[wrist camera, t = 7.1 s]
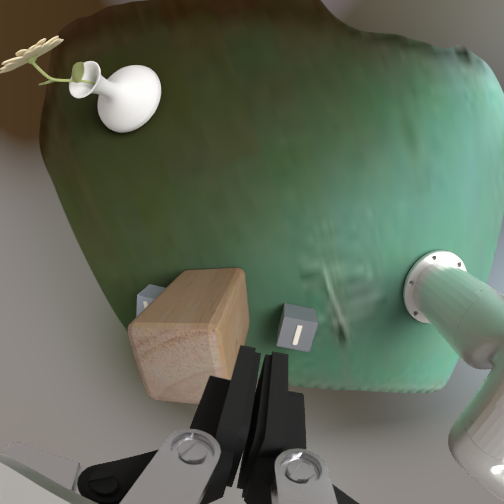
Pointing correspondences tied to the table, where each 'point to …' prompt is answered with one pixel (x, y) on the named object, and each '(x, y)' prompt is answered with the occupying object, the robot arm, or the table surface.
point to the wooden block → (191, 333)
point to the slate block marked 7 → (147, 296)
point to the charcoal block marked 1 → (297, 327)
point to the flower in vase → (104, 87)
